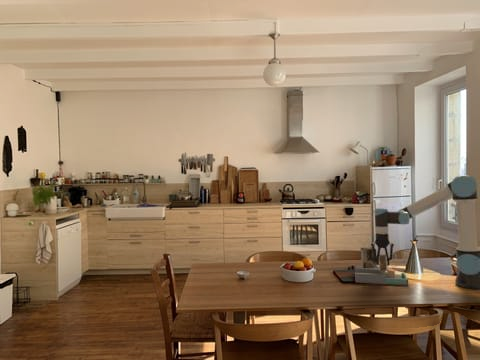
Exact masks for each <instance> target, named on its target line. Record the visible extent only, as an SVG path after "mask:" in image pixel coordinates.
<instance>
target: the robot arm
mask: <svg viewBox="0 0 480 360" xmlns="http://www.w3.org/2000/svg"><path fill="white" fill-rule="evenodd" d="M445 185H446V186H445V187H443V188H440V189H439V190H437V191H435V192H432V193H431V194H428V195H426V196H425V197H423V198H421V199H418V200H416V201H414V202H412V203H411V204H409V205H407V206H405V207H403V208H401V209H399V210H398V211H389V210H388V208H386V207H377V208H375V209H374V225H375V226H374V227H375V228H374V229H375V240H374V242H371V243H370V245H371V247H372V249H373V258H374V259H376V260H377V266H378V269H379V271H380V256H379V255H380V254H381V249H384V252H385V253H384V254H386V272H387V271H388V269H389V268H388V267H389V266H390V261H392V260H393V252H394V251H393V250H394V249H393V248H394V246H395V244H394V243H392V242H391V241H390V237H389V224H390V225H402V226H403V225H409V224H410V220H411V219H413V218H415V217H416V216H418V215H421V214H422V213H425V212H427V211H429V210H431V209H433V208H435V207H437V206H440V205H441V204H443V203H446V202H448V201H449V200H451V199H452V201H453V202H455V207H456V220H457V222H456V223H457V235H458V236H457V237H458V246H457V247H455V251H456V252H455V253H456V254H455V256H456V260H455V261H456V262H455V265H456V267H457V270H458V272H457V274H456V277H455V285H456V286H458V287H461V288H463V289H469V290H480V246H478V237H477V223H476V222H477V221H476V206H475V203H476V201H478V189H477V188H478V183H477V180H476V179H475V178H474V177H473V176H472V175H470V174H461V175H457V176H456V177H454V178H453V179H452V181H450V182H447V184H445ZM375 246H377V251H376V257H375V249H376V248H375ZM388 246H389V251H388Z"/></svg>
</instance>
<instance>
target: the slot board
mask: <svg viewBox="0 0 480 360" xmlns="http://www.w3.org/2000/svg"><path fill="white" fill-rule="evenodd" d="M354 282H355V283H360V284H361V283H363V284H376V285H377V284H379V285H388V284H387V281H386V274H381V270H380V271H379V268H377V269H373V268H361V267H354Z"/></svg>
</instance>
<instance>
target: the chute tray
mask: <svg viewBox="0 0 480 360" xmlns="http://www.w3.org/2000/svg"><path fill="white" fill-rule="evenodd" d="M400 273H401V274H402V279H398V278H392V277H388V276H387V275H386V281H387V284H386V285H395V286H396V285H397V286H409V278H408V275H406V273H405V272H400ZM386 274H387V271H386Z"/></svg>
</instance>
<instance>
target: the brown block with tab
mask: <svg viewBox="0 0 480 360" xmlns="http://www.w3.org/2000/svg"><path fill="white" fill-rule="evenodd" d="M379 260H380V270H381V274H386V272H387V271H386V260H387V257H386V253H380V255H379Z"/></svg>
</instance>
